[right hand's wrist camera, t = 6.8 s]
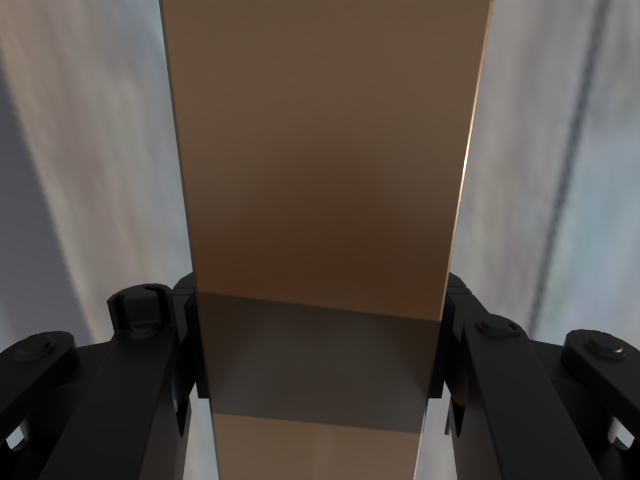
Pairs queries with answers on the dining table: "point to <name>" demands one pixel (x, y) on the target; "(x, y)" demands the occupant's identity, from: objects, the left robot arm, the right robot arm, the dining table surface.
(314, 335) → the plank
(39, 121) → the dining table surface
